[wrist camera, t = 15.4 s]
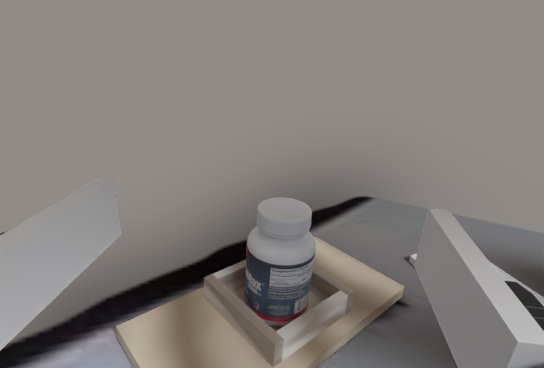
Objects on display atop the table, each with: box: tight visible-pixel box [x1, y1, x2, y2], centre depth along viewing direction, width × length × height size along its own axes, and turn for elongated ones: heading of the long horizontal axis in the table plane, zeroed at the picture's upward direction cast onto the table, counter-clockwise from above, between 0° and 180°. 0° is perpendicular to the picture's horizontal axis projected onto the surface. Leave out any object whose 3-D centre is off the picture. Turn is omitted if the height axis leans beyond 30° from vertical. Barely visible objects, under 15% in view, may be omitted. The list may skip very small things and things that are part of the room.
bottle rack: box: [116, 236, 404, 368], centre depth 28 cm, size 22×11×3 cm, turn 132°
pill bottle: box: [244, 198, 316, 326], centre depth 27 cm, size 5×5×9 cm
